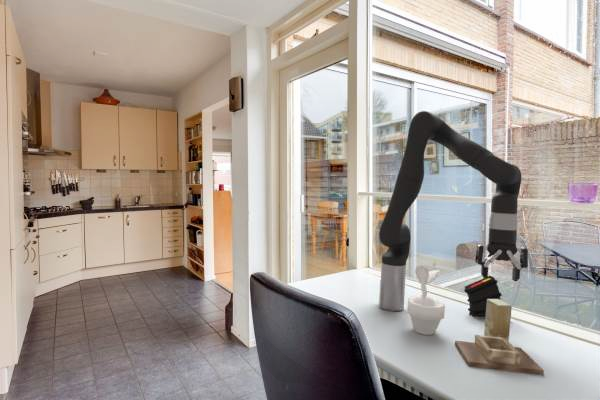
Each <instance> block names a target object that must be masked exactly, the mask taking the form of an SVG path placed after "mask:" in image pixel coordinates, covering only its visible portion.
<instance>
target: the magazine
mask: <svg viewBox="0 0 600 400" xmlns="http://www.w3.org/2000/svg"><path fill="white" fill-rule="evenodd" d="M463 291H464V293H466V294H467V298H468V299H467V302H468V304H469V307H468V308H467V311H468V312H469V313H468V315H469V316H471V315H472V316H473V317H472V316H471V317H472V318H485V317H486V306H487V299H500V300H502V299H501V297H502V292H500V290H499V286H498V280H497V279H496V278H495V277H494V276H492V275H488V279H484V278H483V277H482V278H481V279H479V280H476V281H474V282H472V283H470V284H468V285H465V286H464V289H463Z"/></svg>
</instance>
